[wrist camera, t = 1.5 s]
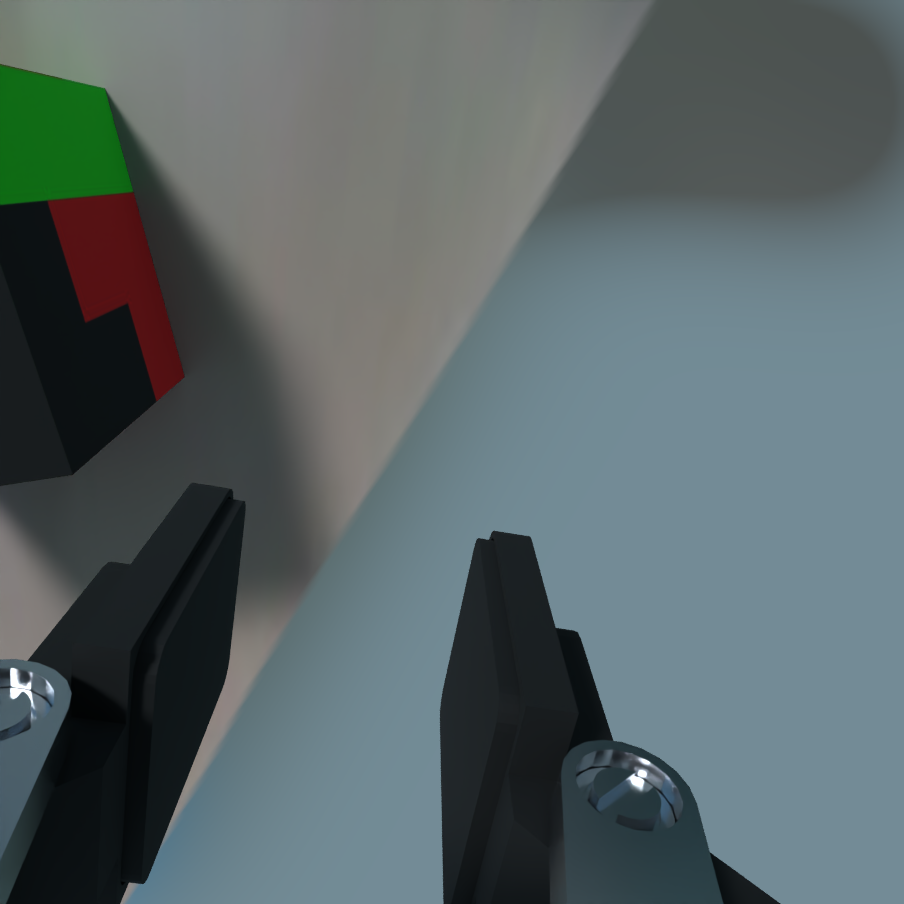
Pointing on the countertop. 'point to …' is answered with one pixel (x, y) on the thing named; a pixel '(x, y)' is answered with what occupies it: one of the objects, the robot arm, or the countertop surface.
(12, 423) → the puzzle toy
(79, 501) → the countertop surface
